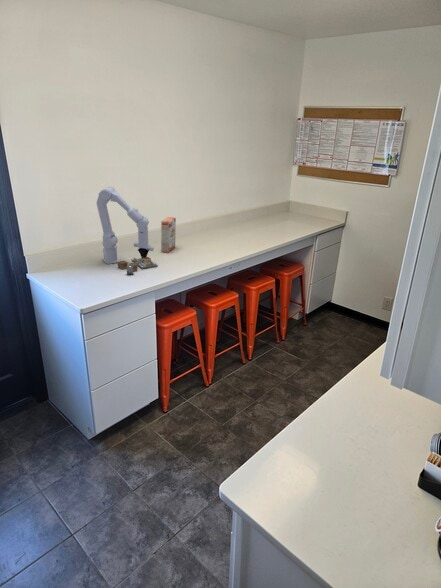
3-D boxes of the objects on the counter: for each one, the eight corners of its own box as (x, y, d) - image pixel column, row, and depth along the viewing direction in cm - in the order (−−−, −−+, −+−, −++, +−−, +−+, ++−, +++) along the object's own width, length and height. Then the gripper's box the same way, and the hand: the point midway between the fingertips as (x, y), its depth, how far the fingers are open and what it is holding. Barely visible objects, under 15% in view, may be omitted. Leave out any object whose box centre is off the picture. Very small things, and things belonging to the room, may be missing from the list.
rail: (131, 261, 245) (131, 257, 244) (146, 258, 250) (146, 255, 249) (142, 269, 233) (142, 265, 232) (157, 266, 238) (157, 263, 237)
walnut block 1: (118, 268, 234) (117, 261, 232) (124, 266, 236) (123, 260, 235) (121, 270, 231) (121, 263, 230) (127, 268, 234) (127, 262, 232)
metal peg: (126, 273, 226) (125, 265, 224) (132, 272, 228) (131, 264, 226) (128, 275, 223) (127, 267, 221) (134, 274, 225) (134, 266, 223)
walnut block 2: (129, 269, 232) (129, 263, 231) (136, 269, 234) (136, 262, 232) (130, 271, 229) (130, 265, 227) (137, 271, 230) (137, 264, 229)
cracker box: (169, 253, 263) (169, 222, 254) (161, 252, 264) (160, 221, 255) (176, 247, 275) (176, 217, 267) (167, 246, 276) (167, 216, 268)
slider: (142, 263, 239) (141, 257, 238) (148, 262, 241) (148, 256, 240) (144, 265, 236) (144, 259, 235) (151, 264, 238) (150, 258, 237)
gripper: (129, 237, 236) (130, 258, 242) (147, 242, 229) (148, 264, 234) (138, 234, 242) (139, 256, 247) (155, 239, 234) (156, 261, 240)
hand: (144, 259), depth 241 cm, fingers closed
